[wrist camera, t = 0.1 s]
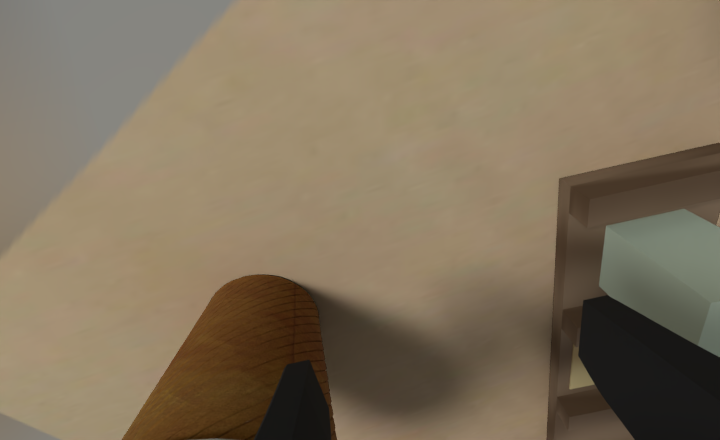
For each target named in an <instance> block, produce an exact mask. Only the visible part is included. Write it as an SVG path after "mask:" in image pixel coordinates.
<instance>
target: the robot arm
mask: <svg viewBox="0 0 720 440" xmlns="http://www.w3.org/2000/svg"><path fill="white" fill-rule="evenodd" d="M578 356H579V358H580V360H581V361H582V363H583V365H584V367H585V368H586V370H587V372H588V374H589V375H590V377H591V379H592V380H593V382H594V384H595V385H596V387H597V389H598V390H599V392H600V394H601V395H602V396H603V398H604V399H605V400H606V402H607V403H608V405H609V406H610V407H611V409H612V410H613V411H614V413H615V414H616V415H617V417H618V418H619V419H620V421H621V422H622V423H623V425H624V426H625V427H626V429H627V430H628V431H629V433H630V434H631V435H632V437H633V438H634V439H635V440H720V357H718V356H716V355H714V354H713V353H711V352H709V351H707V350H705V349H703V348H701V347H700V346H698V345H696V344H694V343H692V342H690V341H689V340H687V339H685V338H683V337H681V336H679V335H678V334H676V333H674V332H672V331H670V330H669V329H667V328H665V327H663V326H662V325H660V324H658V323H656V322H654V321H653V320H651V319H649V318H647V317H646V316H644V315H642V314H640V313H639V312H637V311H635V310H633V309H631V308H630V307H628V306H626V305H624V304H623V303H621V302H619V301H617V300H615V299H613V298H612V297H610V296H608V295H605V296H601V297H596V298H591V299H587V300H583V308H582V319H581V330H580V341H579V352H578ZM254 440H331V427H330V414H329V407H328V404H327V402H326V399H325V397H324V394H323V392H322V389H321V387H320V384H319V382H318V379H317V377H316V375H315V372H314V370H313V367H312V365H311V362H310V360H305V361H300V362H296V363H291V364H287V365H286V366H285V368H284V370H283V373H282V375H281V378H280V380H279V383H278V385H277V388H276V390H275V393H274V395H273V397H272V400H271V402H270V404H269V407H268V409H267V411H266V414H265V416H264V418H263V421H262V423H261V425H260V427H259V429H258V431H257V434H256V436H255V438H254Z"/></svg>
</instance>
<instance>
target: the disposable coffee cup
mask: <svg viewBox="0 0 720 440" xmlns="http://www.w3.org/2000/svg"><path fill="white" fill-rule="evenodd" d="M319 325H320V323H319V314H318V310H317V306H316V305H315V303H314V301H313V299H312V298H311V296H310V295H309V294H308V293H307V292H306V291H305V290H304V289H302V288H301V287H300V286H298V285H296V284H295V283H293V282H291V281H289V280H286V279H283V278H280V277H276V276H270V275H251V276H245V277H242V278H239V279H236V280H233V281H231V282H229V283H227V284H225V285H224V286H223V287H222V288H221V289H219V290H218V291H217V292H216V293H215V295H214V296H213V298H212V299H211V301H210V302H209V304H208V306H207V307H206V309H205V310H204V312H203V313H202V315H201V317H200V318H199V320H198V321H197V323H196V324H195V326H194V328H193V329H192V331H191V332H190V334H189V335H188V337H187V339H186V340H185V342H184V343H183V345H182V346H181V348H180V349H179V351H178V353H177V354H176V356H175V357H174V359H173V360H172V362H171V364H170V365H169V367H168V368H167V370H166V371H165V373H164V375H163V376H162V377H161V379H160V381H159V382H158V384H157V385H156V387H155V389H154V390H153V391H152V393H151V395H150V396H149V398H148V399H147V401H146V403H145V404H144V406H143V407H142V409H141V410H140V412H139V414H138V415H137V417H136V418H135V420H134V422H133V423H132V425H131V426H130V428H129V429H128V431H127V432H126V434H125V435H124V437H123V439H122V440H254V438H255V436H256V434H257V431H258V429H259V427H260V425H261V423H262V421H263V418H264V416H265V414H266V411H267V409H268V407H269V404H270V402H271V400H272V397H273V395H274V393H275V390H276V388H277V385H278V383H279V380H280V378H281V375H282V373H283V370H284V368H285V366H286V365H287V364H291V363H296V362H300V361H305V360H310V362H311V365H312V367H313V370H314V372H315V375H316V377H317V379H318V382H319V384H320V387H321V389H322V392H323V394H324V397H325V399H326V402H327V404H328V407H329V414H330V427H331V440H337V437H336V433H335V424H334V419H333V417H332V416H333V410H332V406H331V397H330V393H329V391H330V390H329V385H328V381H327V380H328V376H327V371H325V370H326V364H325V361H324V360H325V356H324V352H323V350H324V349H323V344H322V337H321V334H320V333H321V330H320V326H319Z"/></svg>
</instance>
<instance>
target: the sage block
mask: <svg viewBox="0 0 720 440" xmlns="http://www.w3.org/2000/svg"><path fill="white" fill-rule="evenodd" d="M599 287H601V288H602V289H603V290H604V291H605V292H606V293H607V294H608V295H609V296H610V297H612V298H613V299H615V300H617V301H619V302H621V303H623V304H624V305H626V306H628V307H630V308H631V309H633V310H635V311H637V312H639V313H640V314H642V315H644V316H646V317H647V318H649V319H651V320H653V321H654V322H656V323H658V324H660V325H662V326H663V327H665V328H667V329H669V330H670V331H672V332H674V333H676V334H678V335H679V336H681V337H683V338H685V339H687V340H689V341H690V342H692V343H694V344H696V345H698V346H700V347H701V348H703V349H705V350H707V351H709V352H711V353H713V354H714V355H716V356H718V357H720V227H718V226H716V225H714V224H712V223H710V222H708V221H706V220H705V219H703V218H701V217H699V216H697V215H695V214H693V213H691V212H689V211H688V210H686V209H680V210H676V211H671V212H666V213H662V214H657V215H653V216H648V217H644V218H639V219H634V220H630V221H625V222H621V223H616V224H612V225H607V226H606V231H605V239H604V247H603V256H602V264H601V272H600V280H599Z"/></svg>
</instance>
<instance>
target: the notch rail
mask: <svg viewBox="0 0 720 440" xmlns="http://www.w3.org/2000/svg"><path fill="white" fill-rule="evenodd" d="M680 209H686V210H688V211H689V212H691V213H693V214H695V215H697V216H699V217H701V218H703V219H705V220H706V221H708V222H710V223H712V224H714V225H716V224H717V220H718V217H719V213H720V143H716V144H712V145H707V146H703V147H698V148H694V149H689V150H685V151H680V152H676V153H671V154H667V155H662V156H658V157H654V158H649V159H645V160H640V161H636V162H631V163H627V164H622V165H618V166H613V167H609V168H604V169H600V170H595V171H591V172H587V173H582V174H578V175H573V176H569V177H564V178H560V179H559V196H558V217H557V237H556V258H555V278H554V299H553V319H552V340H551V360H550V381H549V402H548V422H547V440H635V439H634V438H633V437H632V435H631V434H630V433H629V431H628V430H627V429H626V427H625V426H624V425H623V423H622V422H621V421H620V419H619V418H618V417H617V415H616V414H615V413H614V411H613V410H612V409H611V407H610V406H609V405H608V403H607V402H606V400H605V399H604V398H603V396H602V395H601V394H600V392H599V390H598V389H597V387H596V385H595V384H594V382H593V380H592V379H591V377H590V375H589V374H588V372H587V370H586V368H585V367H584V365H583V363H582V361H581V360H580V358H579V356H578V352H579V341H580V330H581V319H582V308H583V300H587V299H591V298H596V297H601V296H605V295H608V294H607V293H606V292H605V291H604V290H603V289H602V288H601V287H599V280H600V272H601V264H602V256H603V247H604V239H605V231H606V226H607V225H612V224H616V223H621V222H625V221H630V220H634V219H639V218H644V217H648V216H653V215H657V214H662V213H666V212H671V211H676V210H680ZM608 296H609V295H608Z"/></svg>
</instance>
